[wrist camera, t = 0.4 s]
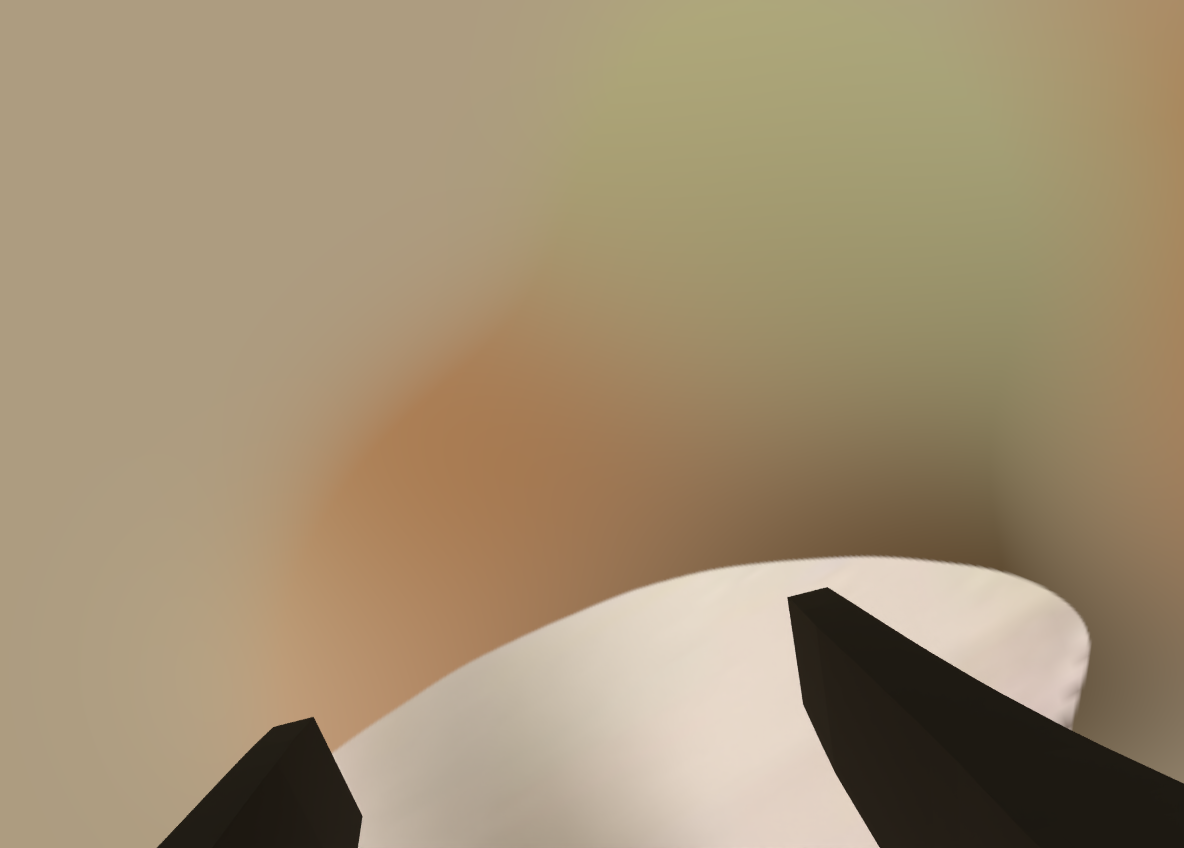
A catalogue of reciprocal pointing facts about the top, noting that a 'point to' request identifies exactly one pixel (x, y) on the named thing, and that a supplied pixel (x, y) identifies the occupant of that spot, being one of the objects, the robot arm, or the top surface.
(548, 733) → the top surface
